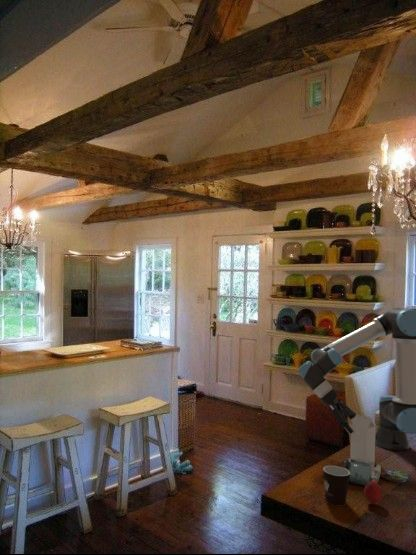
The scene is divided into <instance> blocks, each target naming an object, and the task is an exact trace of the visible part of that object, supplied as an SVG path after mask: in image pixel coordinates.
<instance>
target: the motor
mask: <svg viewBox="0 0 416 555" xmlns="http://www.w3.org/2000/svg"><path fill="white" fill-rule="evenodd" d="M342 468H345V469H347V470H348V471H349V472H350V477H349V483H350V484H356V485H359V486H366V485H367V484H368V483H370V482H372V480H376V483H377V484H378V482H379V480H380V477H381V475H380V474H382V468H381V464H376V466H375V461H374V462H373V461H369V460H364V459H359V458H356V459H352V458H351V459H350V458H345V459H344V460H343V465H342Z"/></svg>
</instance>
